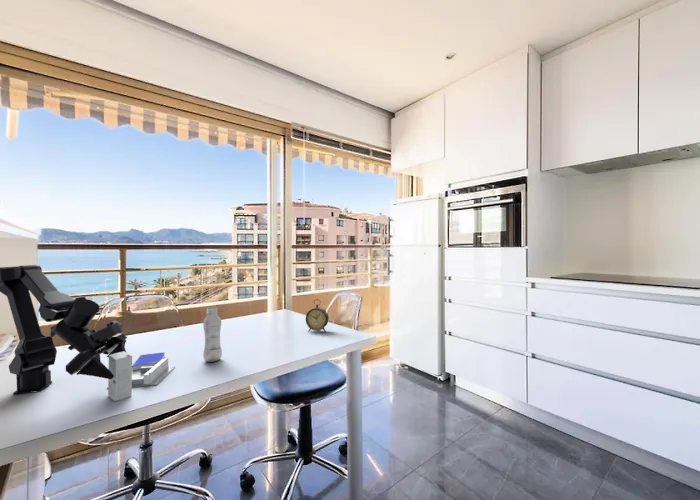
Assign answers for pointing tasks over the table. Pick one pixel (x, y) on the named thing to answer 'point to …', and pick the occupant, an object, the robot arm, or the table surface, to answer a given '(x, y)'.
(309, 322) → the alarm clock
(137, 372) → the rail base
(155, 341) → the table surface
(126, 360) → the skincare box
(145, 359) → the hard drive
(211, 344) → the plastic bottle
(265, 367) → the table surface
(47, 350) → the robot arm
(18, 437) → the table surface
